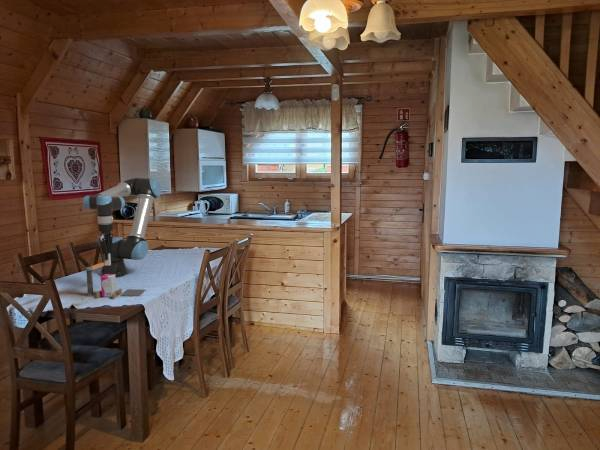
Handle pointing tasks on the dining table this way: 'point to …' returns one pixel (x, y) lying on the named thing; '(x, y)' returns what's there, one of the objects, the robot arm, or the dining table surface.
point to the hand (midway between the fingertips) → (107, 265)
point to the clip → (95, 266)
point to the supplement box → (108, 285)
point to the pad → (132, 292)
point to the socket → (90, 291)
